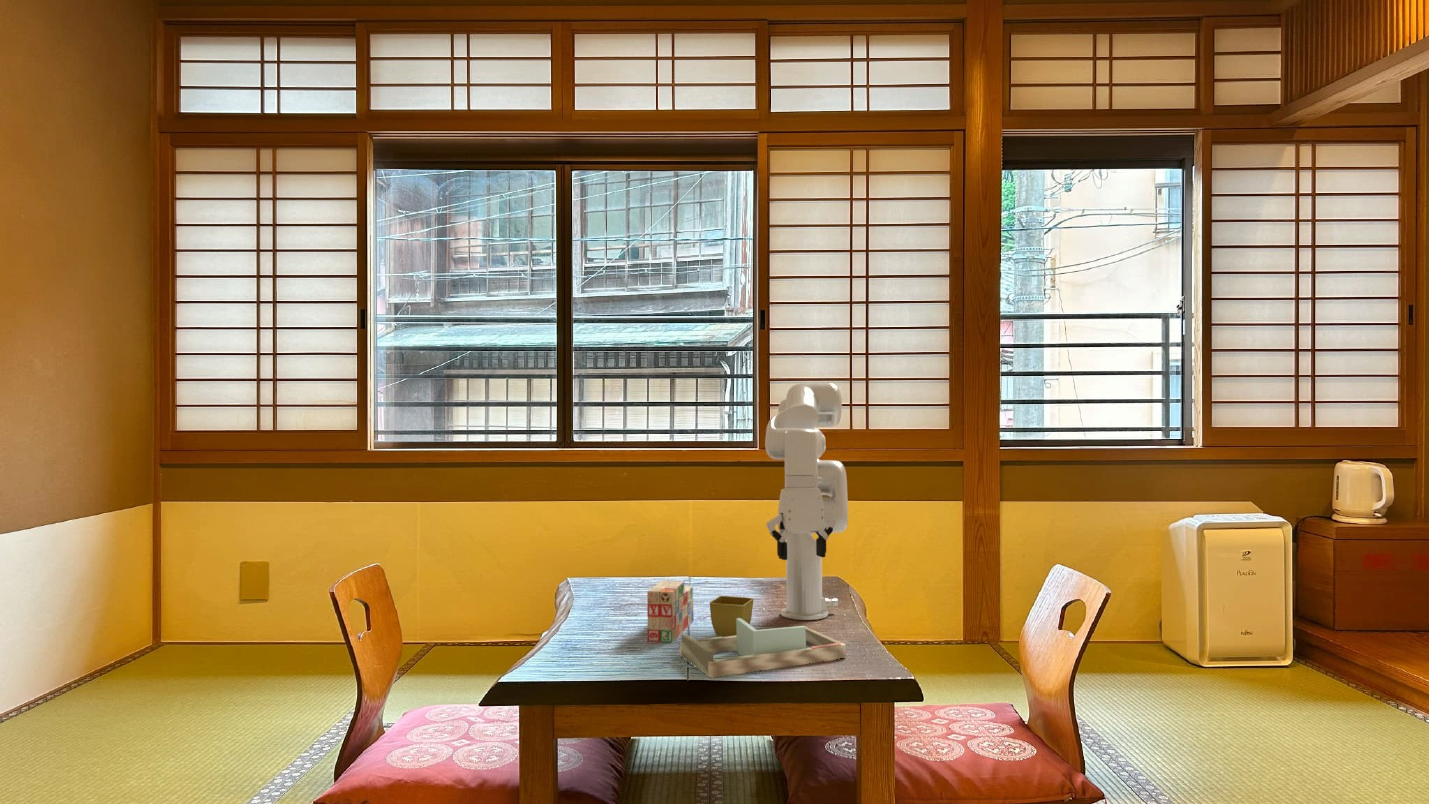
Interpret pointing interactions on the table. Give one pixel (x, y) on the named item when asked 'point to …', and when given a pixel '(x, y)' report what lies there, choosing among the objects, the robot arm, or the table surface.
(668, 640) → the stack of blocks
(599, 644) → the table surface
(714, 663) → the box
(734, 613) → the flower pot
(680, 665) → the table surface
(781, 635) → the l-shaped corner panel
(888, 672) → the table surface
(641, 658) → the table surface
